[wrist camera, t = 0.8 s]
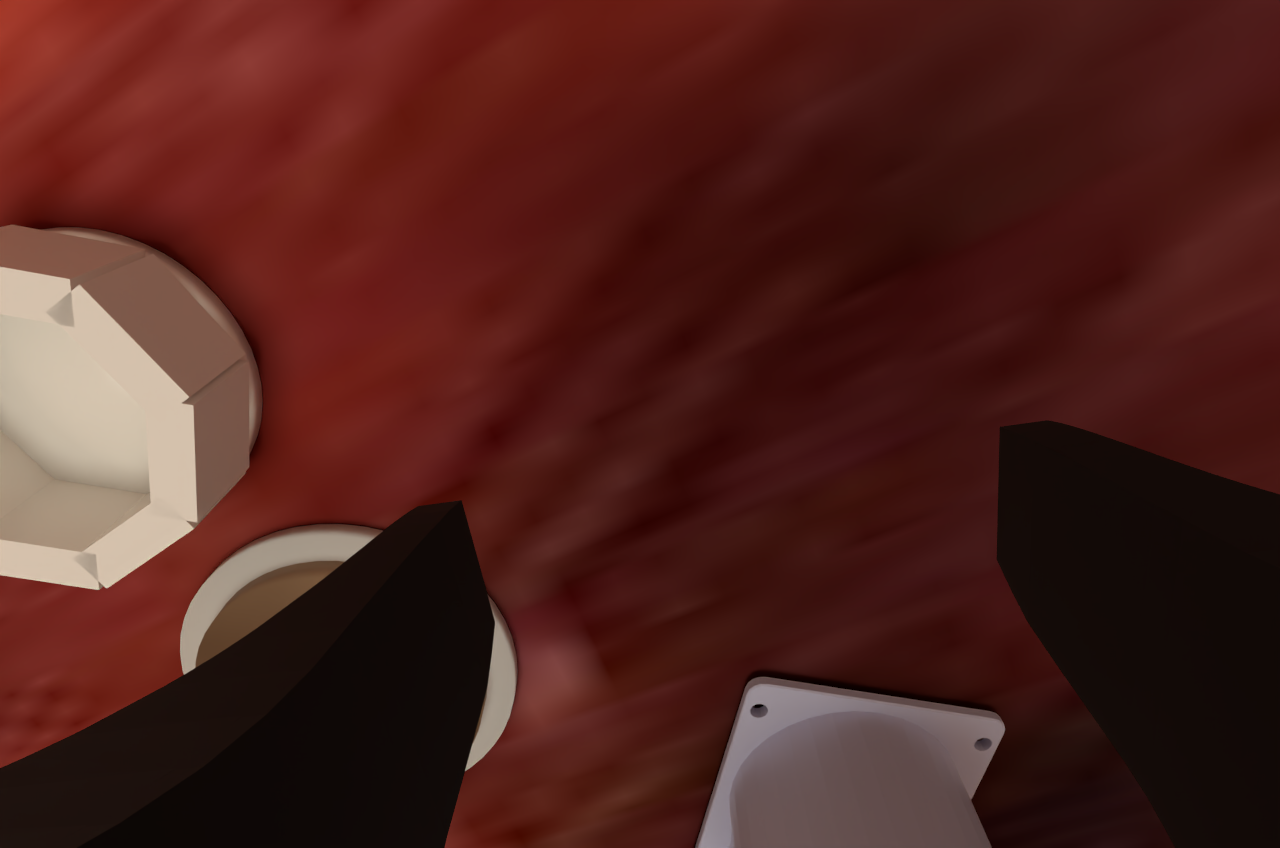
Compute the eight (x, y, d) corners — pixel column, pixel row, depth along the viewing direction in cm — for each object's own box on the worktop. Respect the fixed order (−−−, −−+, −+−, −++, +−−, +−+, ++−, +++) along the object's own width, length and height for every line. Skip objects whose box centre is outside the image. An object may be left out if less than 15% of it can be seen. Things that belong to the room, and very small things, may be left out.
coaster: (497, 799, 27) (494, 815, 26) (195, 758, 26) (185, 773, 26) (538, 554, 23) (535, 566, 22) (184, 497, 22) (173, 508, 22)
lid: (472, 793, 26) (434, 960, 21) (211, 757, 25) (112, 921, 21) (503, 586, 23) (466, 727, 18) (205, 538, 22) (86, 672, 17)
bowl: (262, 527, 23) (200, 605, 19) (-24, 481, 22) (-137, 554, 19) (263, 259, 20) (189, 300, 16) (-69, 198, 19) (-212, 228, 16)
